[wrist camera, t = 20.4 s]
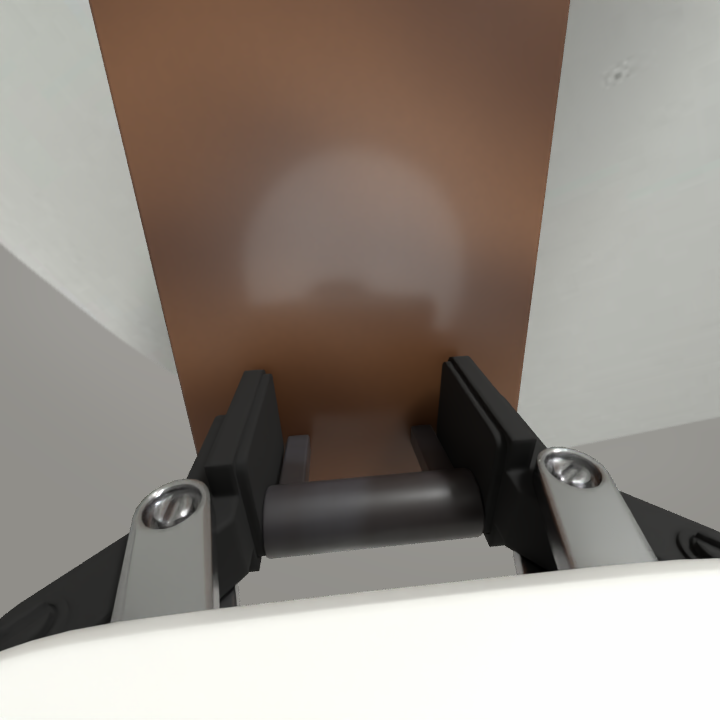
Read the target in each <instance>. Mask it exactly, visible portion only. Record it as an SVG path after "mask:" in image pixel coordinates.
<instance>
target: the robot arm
mask: <svg viewBox="0 0 720 720" xmlns="http://www.w3.org/2000/svg"><path fill="white" fill-rule="evenodd" d="M436 434H437V437H438V439H439V441H440V443H441V445H442V447H443V449H444V450H445V452H446V454H447V456H448V458H449V460H450V462H451V464H452V465H453V467H454V468H467V469H469V470H470V471H471V472H472V474H473V475H474V477H475V479H476V481H477V483H478V486H479V489H480V492H481V496H482V500H483V505H484V514H485V525H484V530H483V533H484V535H485V537H486V540H487V542H488V544H489V546H490V547H491V546H501V545H505V546H506V547H508V548H510V549H511V550H513V557H514V563H515V568H516V573H517V575H513V576H504V577H494V578H485V579H475V580H467V581H457V582H449V583H439V584H430V585H421V586H412V587H403V588H394V589H385V590H376V591H367V592H358V593H349V594H340V595H331V596H323V597H314V598H306V599H297V600H288V601H280V602H271V603H263V604H254V605H246V606H240V598H239V587H238V582H239V581H240V580H241V579H243V578H244V577H245V576H246V575H247V574H248V572H253V571H259V569H260V563H261V557H262V556H266V554H265V551H264V547H263V541H262V511H263V502H264V496H265V493H266V490H267V488H268V487H269V486H270V485H277V484H279V480H280V475H281V470H282V464H283V458H284V443H283V436H282V430H281V424H280V418H279V412H278V406H277V400H276V394H275V388H274V382H273V376H272V374H266V372H265V370H264V369H263V370H248V371H244V373H243V375H242V378H241V380H240V382H239V385H238V387H237V389H236V392H235V394H234V397H233V399H232V401H231V404H230V406H229V408H228V411H227V413H226V415H218V416H216V417H215V419H214V421H213V423H212V425H211V427H210V429H209V432H208V434H207V436H206V438H205V440H204V442H203V444H202V447H201V449H200V451H199V453H198V455H197V458H196V460H195V462H194V464H193V466H192V468H191V470H190V472H189V475H188V477H187V479H182V480H176V481H173V482H170V483H167V484H165V485H162V486H161V487H159V488H157V489H156V490H154V491H152V492H151V493H150V494H149V495H148V496H146V497H145V498H144V499H143V500H142V501H141V503H140V504H139V505H138V507H137V508H136V510H135V513H134V515H133V518H132V524H131V528H130V532H129V533H128V534H127V535H125V536H124V537H122V538H121V539H119V540H117V541H116V542H115V543H113V544H111V545H110V546H108V547H107V548H105V549H104V550H102V551H100V552H99V553H98V554H96V555H94V556H93V557H91V558H89V559H88V560H86V561H85V562H83V563H82V564H80V565H79V566H77V567H76V568H74V569H73V570H71V571H69V572H68V573H66V574H65V575H63V576H62V577H60V578H59V579H57V580H55V581H54V582H52V583H51V584H49V585H48V586H46V587H45V588H43V589H41V590H40V591H38V592H37V593H35V594H34V595H32V596H31V597H29V598H27V599H26V600H24V601H23V602H21V603H20V604H18V605H17V606H16V607H14V608H13V609H12V610H10V611H9V612H8V613H6V614H5V615H4V616H3V617H2V618H1V619H0V720H720V532H718V531H716V530H714V529H711V528H709V527H706V526H704V525H701V524H699V523H696V522H694V521H692V520H689V519H687V518H684V517H682V516H679V515H677V514H675V513H672V512H670V511H667V510H665V509H662V508H660V507H657V506H655V505H653V504H650V503H648V502H645V501H643V500H640V499H638V498H635V497H633V496H631V495H628V494H626V493H623V492H621V491H619V490H618V488H617V487H616V485H615V483H614V481H613V479H612V478H611V476H610V474H609V473H608V471H607V470H606V469H605V467H604V466H603V465H602V464H601V463H599V462H598V461H596V459H594V458H592V457H591V456H589V455H587V454H585V453H583V452H580V451H577V450H575V449H571V448H565V447H551V448H546V446H545V445H544V444H543V443H542V442H541V440H540V439H539V438H538V437H537V436H536V434H535V433H534V432H533V431H532V430H531V428H530V427H529V426H528V425H527V424H526V422H525V421H524V420H523V419H522V418H521V416H520V415H519V414H518V413H517V412H516V410H515V409H514V408H513V407H512V406H511V404H510V403H509V402H508V401H507V400H506V398H505V397H504V396H502V395H501V394H500V393H499V392H498V390H497V389H496V388H495V387H494V386H493V384H492V383H491V382H490V381H489V380H488V378H487V377H486V376H485V375H484V373H483V372H482V371H481V370H480V369H479V367H478V366H477V365H476V364H475V363H474V361H473V360H472V359H471V358H470V357H469V356H455V357H449V359H448V362H443V364H442V373H441V384H440V396H439V407H438V419H437V430H436Z"/></svg>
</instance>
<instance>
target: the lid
mask: <svg viewBox="0 0 720 720" xmlns="http://www.w3.org/2000/svg"><path fill="white" fill-rule="evenodd" d="M89 4H90V8H91V12H92V16H93V20H94V25H95V29H96V33H97V37H98V41H99V46H100V50H101V54H102V58H103V62H104V67H105V71H106V75H107V79H108V83H109V87H110V92H111V96H112V100H113V104H114V108H115V113H116V117H117V121H118V125H119V129H120V134H121V138H122V142H123V146H124V150H125V155H126V159H127V163H128V167H129V171H130V176H131V180H132V184H133V188H134V192H135V196H136V201H137V205H138V209H139V213H140V217H141V222H142V226H143V230H144V234H145V238H146V243H147V247H148V251H149V255H150V259H151V264H152V268H153V272H154V276H155V280H156V285H157V289H158V293H159V297H160V301H161V305H162V310H163V314H164V318H165V322H166V326H167V331H168V335H169V339H170V343H171V347H172V352H173V356H174V360H175V364H176V368H177V373H178V377H179V381H180V385H181V389H182V394H183V398H184V402H185V406H186V410H187V415H188V418H189V423H190V427H191V431H192V435H193V440H194V444H195V448H196V452H197V455H198V453H199V451H200V449H201V447H202V444H203V442H204V440H205V438H206V436H207V434H208V432H209V429H210V427H211V425H212V423H213V421H214V419H215V417H216V416H218V415H226V413H227V411H228V408H229V406H230V404H231V401H232V399H233V397H234V394H235V392H236V389H237V387H238V385H239V382H240V380H241V378H242V375H243V373H244V371H248V370H263V369H264V370H265V372H266V374H272V376H273V382H274V388H275V394H276V400H277V406H278V412H279V418H280V424H281V430H282V436H283V443H284V458H283V464H282V470H281V475H280V480H279V484H277V485H270V486H269V487H268V488H267V490H266V493H265V496H264V502H263V511H262V541H263V547H264V551H265V554H266V556H267V557H268V558H271V559H272V558H281V557H291V556H300V555H310V554H320V553H328V552H338V551H348V550H358V549H366V548H377V547H386V546H396V545H405V544H415V543H424V542H434V541H444V540H453V539H463V538H472V537H479V536H480V535H481V534H482V533H483V530H484V525H485V514H484V505H483V500H482V496H481V492H480V489H479V486H478V483H477V481H476V479H475V477H474V475H473V474H472V472H471V471H470V470H469V469H467V468H454V467H453V465H452V464H451V462H450V460H449V458H448V456H447V454H446V452H445V450H444V449H443V447H442V445H441V443H440V441H439V439H438V437H437V434H436V430H437V419H438V407H439V396H440V384H441V373H442V364H443V362H448V359H449V357H455V356H469V357H470V358H471V359H472V360H473V361H474V363H475V364H476V365H477V366H478V367H479V369H480V370H481V371H482V372H483V373H484V375H485V376H486V377H487V378H488V380H489V381H490V382H491V383H492V384H493V386H494V387H495V388H496V389H497V390H498V392H499V393H500V394H501V395H502V396H504V397H505V398H506V400H507V401H508V402H509V403H510V404H511V406H512V407H513V408H514V409H515V410H516V412H517V407H518V399H519V391H520V384H521V376H522V368H523V360H524V353H525V345H526V337H527V330H528V322H529V314H530V306H531V299H532V291H533V283H534V276H535V268H536V260H537V252H538V245H539V237H540V229H541V222H542V214H543V206H544V198H545V191H546V183H547V175H548V168H549V160H550V152H551V144H552V137H553V129H554V121H555V113H556V106H557V98H558V90H559V83H560V75H561V67H562V59H563V52H564V44H565V36H566V29H567V21H568V13H569V5H570V0H89Z"/></svg>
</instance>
